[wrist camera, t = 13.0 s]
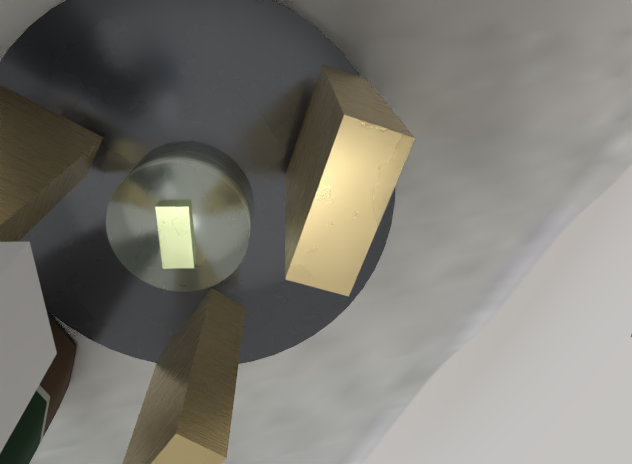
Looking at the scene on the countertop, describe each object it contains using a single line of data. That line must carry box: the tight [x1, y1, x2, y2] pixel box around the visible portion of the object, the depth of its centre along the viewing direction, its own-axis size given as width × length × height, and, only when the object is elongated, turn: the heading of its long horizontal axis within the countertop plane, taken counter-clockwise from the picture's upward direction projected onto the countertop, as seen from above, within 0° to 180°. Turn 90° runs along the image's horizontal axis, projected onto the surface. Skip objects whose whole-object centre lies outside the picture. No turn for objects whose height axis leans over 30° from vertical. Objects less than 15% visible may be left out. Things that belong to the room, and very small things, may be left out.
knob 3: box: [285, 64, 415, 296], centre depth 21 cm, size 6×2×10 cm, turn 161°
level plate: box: [0, 0, 395, 364], centre depth 26 cm, size 21×21×5 cm
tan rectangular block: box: [123, 288, 245, 464], centre depth 26 cm, size 6×2×10 cm, turn 143°
